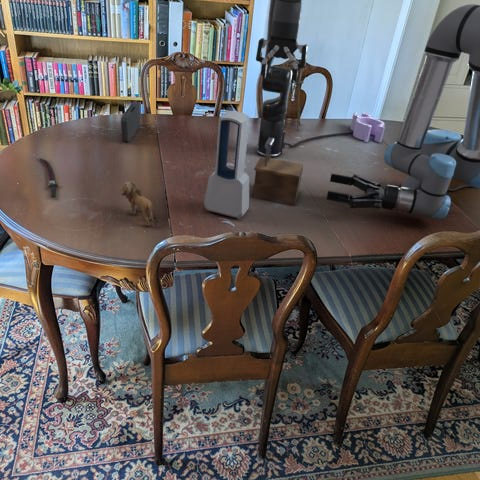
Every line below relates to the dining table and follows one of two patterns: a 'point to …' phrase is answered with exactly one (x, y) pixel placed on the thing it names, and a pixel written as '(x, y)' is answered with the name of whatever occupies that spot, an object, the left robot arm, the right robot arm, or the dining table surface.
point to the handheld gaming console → (130, 121)
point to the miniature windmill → (295, 98)
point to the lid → (277, 164)
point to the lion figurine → (137, 201)
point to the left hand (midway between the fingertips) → (278, 79)
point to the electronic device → (229, 170)
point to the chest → (276, 187)
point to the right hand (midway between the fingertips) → (328, 185)
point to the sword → (52, 181)
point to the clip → (367, 127)
